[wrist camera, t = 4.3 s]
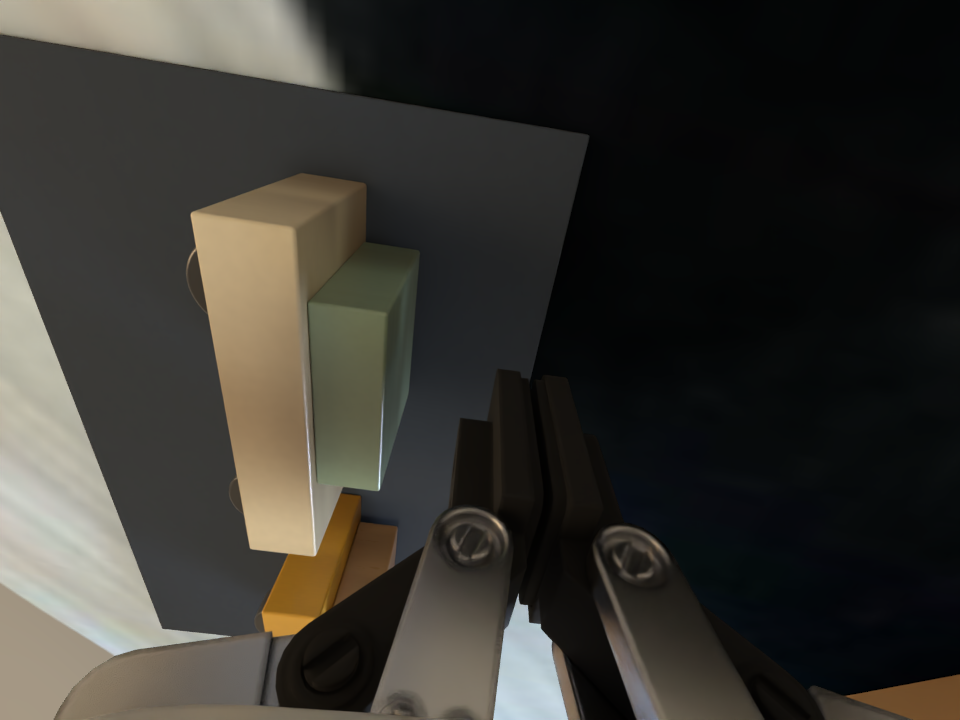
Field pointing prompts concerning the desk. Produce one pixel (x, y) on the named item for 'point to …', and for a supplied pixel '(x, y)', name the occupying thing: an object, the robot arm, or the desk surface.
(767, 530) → the desk surface
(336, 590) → the mustard car
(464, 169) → the play mat
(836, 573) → the desk surface
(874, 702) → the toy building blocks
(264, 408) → the cream car
